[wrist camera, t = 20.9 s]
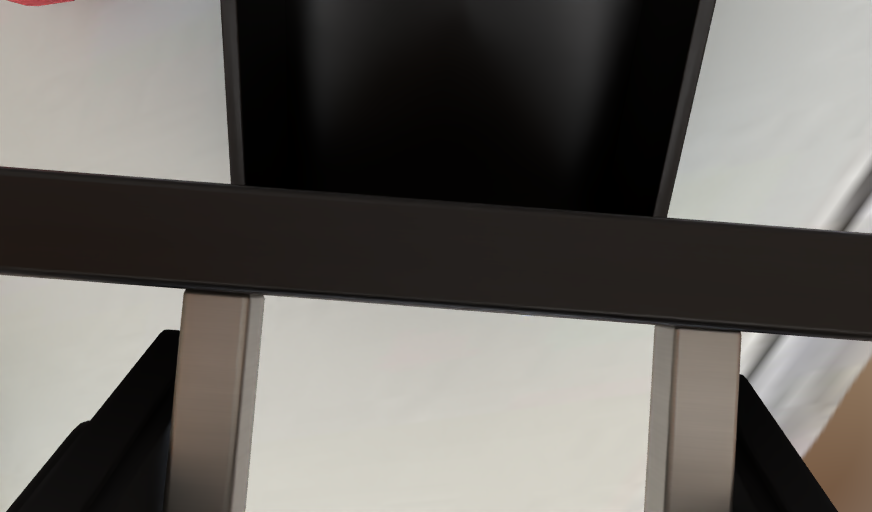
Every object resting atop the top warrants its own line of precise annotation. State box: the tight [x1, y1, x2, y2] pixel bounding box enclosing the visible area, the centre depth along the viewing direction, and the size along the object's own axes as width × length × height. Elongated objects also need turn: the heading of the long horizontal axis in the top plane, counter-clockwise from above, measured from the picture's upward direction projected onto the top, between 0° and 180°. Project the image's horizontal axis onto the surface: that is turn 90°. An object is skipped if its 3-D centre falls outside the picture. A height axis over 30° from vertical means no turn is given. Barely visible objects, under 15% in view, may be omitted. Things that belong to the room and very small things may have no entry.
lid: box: [0, 167, 872, 512], centre depth 14 cm, size 18×14×6 cm
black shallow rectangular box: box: [220, 0, 716, 218], centre depth 23 cm, size 17×14×6 cm
